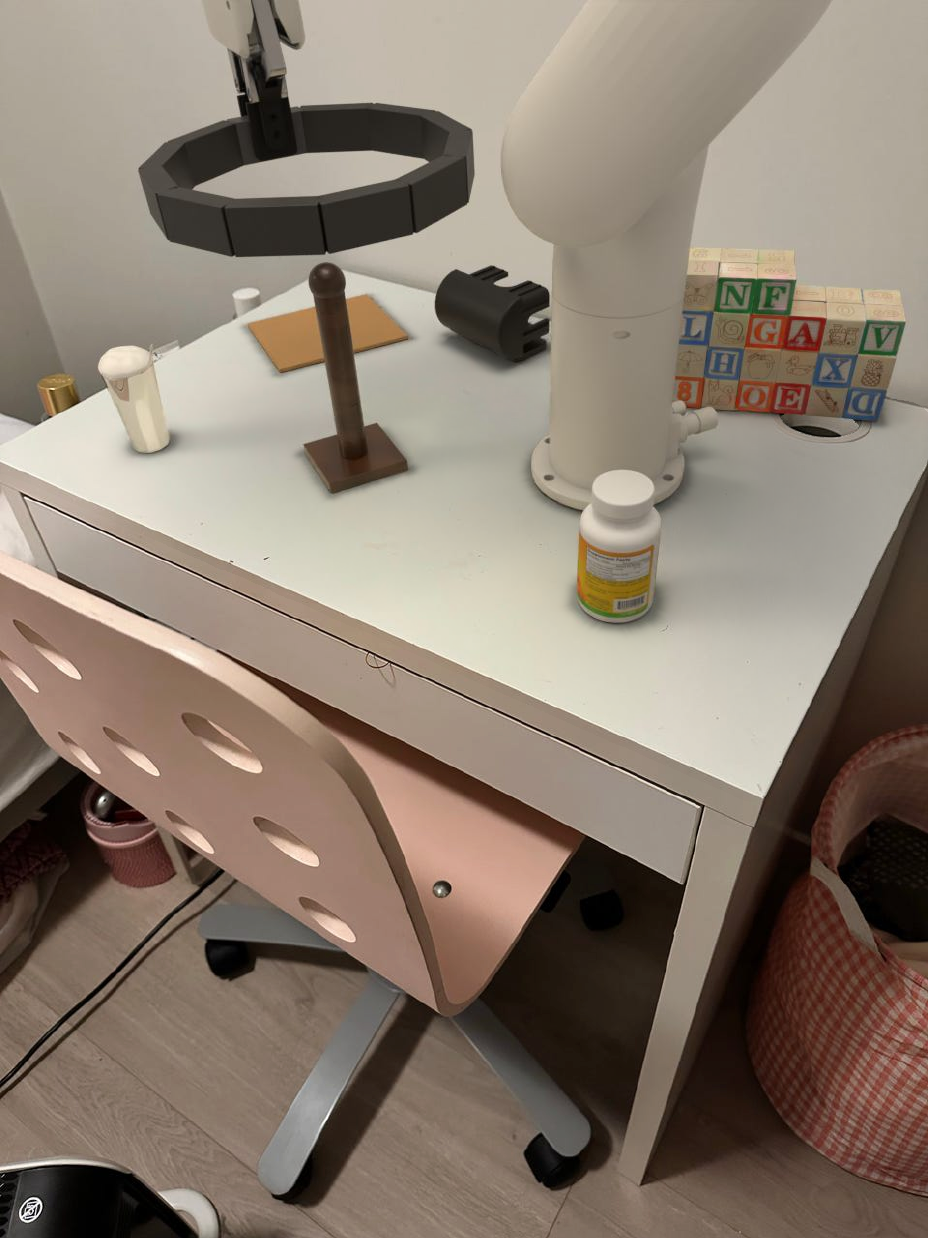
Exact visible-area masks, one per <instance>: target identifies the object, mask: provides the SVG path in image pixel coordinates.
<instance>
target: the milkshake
mask: <svg viewBox="0 0 928 1238" xmlns="http://www.w3.org/2000/svg"><path fill="white" fill-rule="evenodd" d="M153 347H154V341H152V342H151V343H150V345H149V351H148V350H147V349H144V348H142V347H139V346H136V345H123V346H116V347H112V348H110V349H108V350H107V351H106V352H105V353H104V354H103V355H102V356H101V357H100V359H99V362H98V365H97V369H98V372H99V374H100V376H101V378H102V381H103V382H104V384H105V387H106V389H107V390H108V393H109V395H110V397H111V399H112V402H113V404H114V406H115V408H116V411H117V413H118V417H119V418H120V420H121V422H122V425H123V427H124V429H125V431H126V433H127V436H128V438H129V441H130V443H131V445H132V448H134V450H135V451H137V452H138V453H145V454H152V453H154V452H159V451H162V450H163V449H165V448H166V447H167V446H169V443H170V440H171V437H170V432H169V428H168V424H167V419H166V415H165V410H164V406H163V402H162V397H161V394H160V389H159V385H158V378H157V373H156V368H155V364H154V363H155V362H154V358H153Z"/></svg>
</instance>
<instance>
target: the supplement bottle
mask: <svg viewBox="0 0 928 1238" xmlns="http://www.w3.org/2000/svg"><path fill="white" fill-rule="evenodd" d="M654 491H655V488H654V484H653V482H652V481H651V480H650V479H649V478H648V477H647V476H645V475H644V474H641V473H639V472H636V471H631V470H614V471H609V472H606V473H604V474H602V475H600V476H599V477H597V478H596V479H595V481H594V482H593V485H592V494H591V503H590V504H589V505H588V506H587V507H586V508H585V509H584V510H582V513H581V515H580V518H579V525H578V548H577V549H578V551H577V572H576V573H577V574H576V575H577V576H576V578H577V579H576V598H577V602H578V604H579V606H580V608H581V609H582V610H583V611H584V612H585V613H586V614H587V615H589V616H591V617H592V618H594V619H596V620H599V621H601V622H608V623H617V624H619V623H628V622H632V621H635V620H638V619H640V618H641V617H643V616H644V615H646V614H647V613H648V611H649V610H650V609H651V607H652V605H653V602H654V597H655V590H656V582H657V581H656V579H657V572H658V571H657V569H658V562H659V555H660V554H659V553H660V545H661V544H660V543H661V535H662V518H661V516H660V513H659V512H658V510H657V509H656V507H654V505H655V504H654Z"/></svg>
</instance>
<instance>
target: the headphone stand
mask: <svg viewBox="0 0 928 1238" xmlns="http://www.w3.org/2000/svg"><path fill="white" fill-rule="evenodd" d="M307 281H308V288H309V291H310V292H311V293H312V296H313V302H314V307H315V308H316V314H317V320H318V326H319V332H320V338H321V344H322V349H323V355H324V361H323V362H324V367H325V373H326V377H327V385H328V391H329V396H330V402H331V407H332V414H333V419H334V420H333V421H334V426H335V431H336V433H335V434H333V435H330V436H326V437H323V438H319V439H316V440H312V441H309V442H306V443H303V444H302V445H303V451H304V455H306V457H307V459H308V460H309V462H310V464H311V465H312V466H313V468H314V470H315V471H316V473H317V474H318V476H319V478H320V479H321V480H322V482H323V484H324V485H325V487H326V488H327V490H328V491H329V492H330V494H335V493H337V492H341V491H344V490H348V489H350V488H353V487H357V486H360V485H363V484H367V483H370V482H372V481H377V480H379V479H384V478H387V477H389V476H392V475H396V474H399V473H402V472H406V471H408V470H409V468H408V467H409V466H408V460H407V459H406V457H405V456H404V454H402V452H401V451H400V449H399V448H398V447H397V446H396V445H395V443H394V442H393V441H392V440H391V438H390V437H389V436H388V434H387V433H386V432H385V430H383V428H382V427H381V426H380V425H379V423H377V422H375V423H371V424H368V425H365V420H364V413H363V407H362V399H361V392H360V387H359V380H358V379H359V378H358V372H357V366H356V359H355V353H354V351H353V344H352V337H351V331H350V324H349V317H348V310H347V303H346V299H347V298H346V286H347V280H346V275H345V273H344V271H343V270H342V269H341V267H340V266H338V265H337V264H335V263H333V262H329V261H325V262H324V261H323V262H320V263H317V264H316V265H315V266H314V267H312V269H311V271H310V272H309V274H308V280H307Z"/></svg>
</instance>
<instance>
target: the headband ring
mask: <svg viewBox="0 0 928 1238" xmlns="http://www.w3.org/2000/svg"><path fill="white" fill-rule="evenodd" d="M290 109H291V115H292V120H293V126H294V132H295V138H296V144H297V153H296V154H295V155H291V156H286V157H281V158H276V159H271V160H266V161H260V160H259V159H258V158H257V157H256V155H255V150H254V145H253V140H252V135H251V130H250V125H249V120H248V115H247V116H241V115H240V116H237V117H231V118H227V119H226V120H225V119H222V120H220V121H217V122H215V123H212V124H209V125H206V126H204V127H201V128H199V129H198V128H197V129H196V130H193V131H191V132H187V133H186V134H185V133H184V134H182V135H180V136H177V137H174V138H172V139H170V140H168V141H165V142H164V143H162V144H161V145H160V146H159V147H158V148H157V149H156V150H155V151H154V152H153V153H152V154H151V155H150V156H149V157H148V158H147V159H146V160H145V161H144V162H143V163H142V164H140V165H139V167H138V168H137V169H138V170H137V172H138V175H139V179H140V183H141V186H142V189H143V192H144V197H145V200H146V204H147V208H148V211H149V214H150V216H151V217H152V219H153V220H154V222H155V223H156V225H157V226H158V228H159V230H160V231H161V232H162V234H163V236H164V237H165V238H166V240H167V241H169V243H173V244H178V245H181V246H185V247H189V248H194V249H198V250H202V251H206V252H210V253H214V254H218V255H223V256H225V257H230V258H233V257H235V258H257V257H297V256H325V255H326V253H327V254H329V255H332V254H336V253H340V252H344V251H349V250H354V249H358V248H361V247H365V246H366V247H367V246H370V245H374V244H379V243H383V242H387V241H392V240H396V239H400V238H405V237H409V236H413V235H414V234H418V233H420V232H422V231H424V230H425V229H428V227H430V226H432V225H434V224H436V223H437V222H439V221H441V220H443V219H445V218H446V217H448V216H449V215H451V214H454V213H455V212H457V211H458V210H460V209H462V208H464V207H465V206H467V205H468V204H469V202H470V198H471V194H472V189H473V185H474V181H475V180H474V179H475V176H476V175H475V173H476V172H475V153H474V152H475V150H474V149H475V148H474V132H473V129H472V128H471V127H468V126H467V125H466V124H463V123H461V122H459V121H458V120H456V119H453V118H452V117H451V116H449V115H447V114H445V113H443V112H441V111H439V110H435V109H428V108H422V107H421V108H420V107H413V106H404V105H396V104H389V103H382V102H381V103H380V102H375V103H374V102H353V103H333V104H332V103H331V104H307V105H306V104H305V105H300V107H299V106H297V105H296V106H290ZM346 152H347V153H348V152H349V153H350V152H378V153H383V154H390V155H397V156H404V157H410V158H414V159H415V158H416V159H420V160H421V159H422V160H425V161H426V162H427V163H425V164H423V165H421V166H419V167H416V168H415V169H413V170H411V171H409V172H407V173H405V174H403V175H401V176H398V177H397V178H394V179H391V180H386V181H381V182H377V183H371V184H366V185H362V186H357V187H353V188H348V189H344V190H339V191H333V192H330V193H329V192H328V193H325V194H320V195H309V196H308V195H305V196H301V195H300V196H277V197H276V196H275V197H273V196H272V197H246V198H243V197H242V198H233V197H229V196H225V195H219V194H215V193H210V192H205V191H200V190H195V187H197V186H199V185H202V184H204V183H207V182H208V181H211V180H214V179H216V178H218V177H220V176H223V175H225V174H227V173H230V172H233V171H235V170H237V169H239V168H241V167H245V166H249V165H254V164H259V163H264V162H269V161H275V160H280V159H285V158H290V157H294V156H300V155H305V154H320V153H321V154H322V153H323V154H324V153H346Z"/></svg>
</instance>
